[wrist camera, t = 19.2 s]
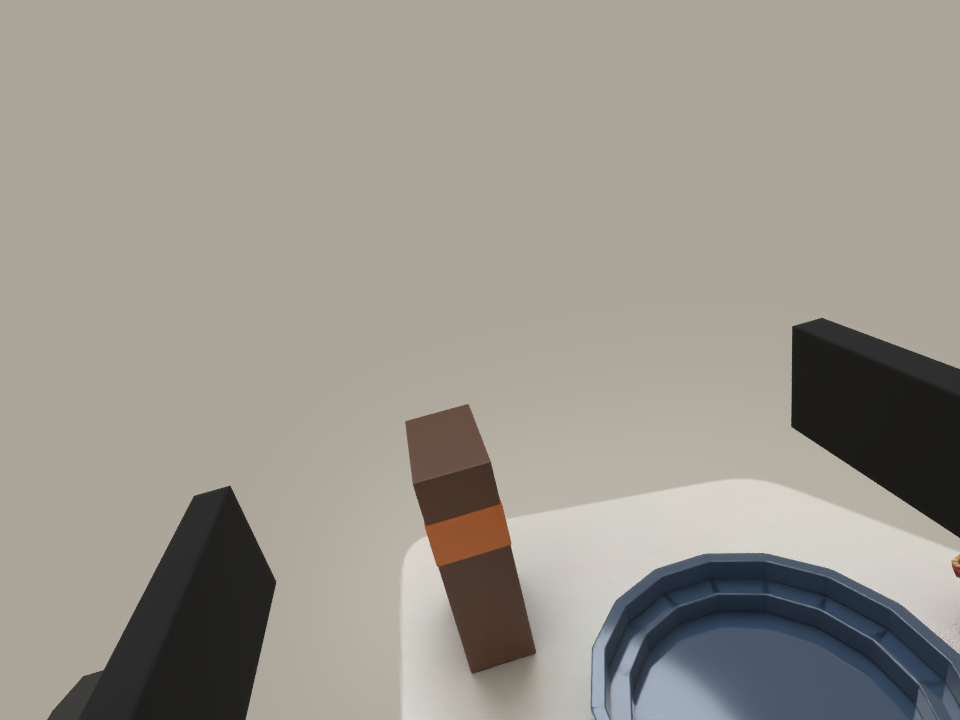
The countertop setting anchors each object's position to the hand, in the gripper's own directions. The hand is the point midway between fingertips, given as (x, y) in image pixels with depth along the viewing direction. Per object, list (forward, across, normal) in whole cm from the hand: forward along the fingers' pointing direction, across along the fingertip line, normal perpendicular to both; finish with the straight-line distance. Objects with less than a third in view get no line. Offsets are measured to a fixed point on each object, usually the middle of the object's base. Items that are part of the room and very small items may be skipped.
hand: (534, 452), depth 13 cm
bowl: (+3, +8, -18) cm, 20 cm away
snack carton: (+13, -2, -18) cm, 22 cm away
